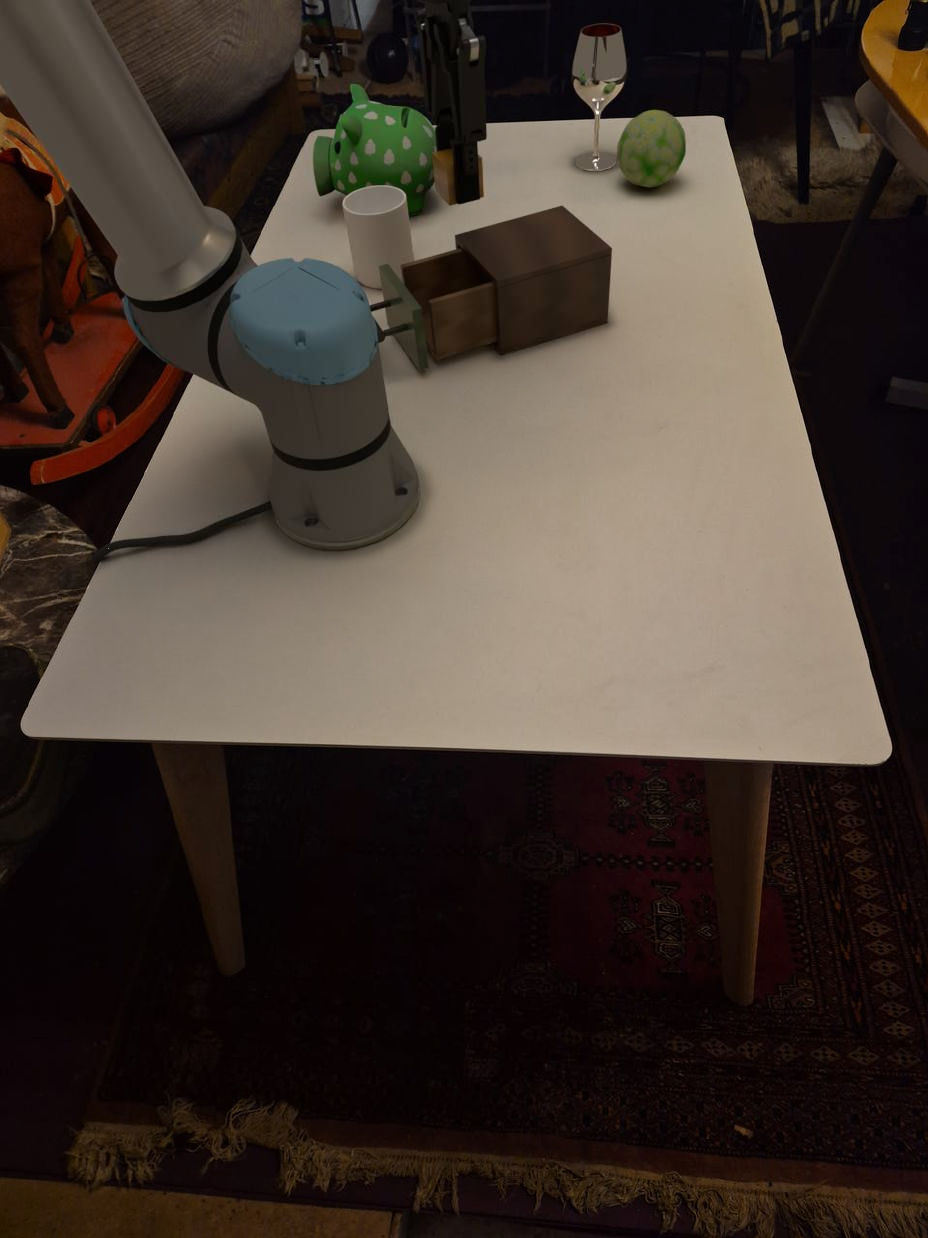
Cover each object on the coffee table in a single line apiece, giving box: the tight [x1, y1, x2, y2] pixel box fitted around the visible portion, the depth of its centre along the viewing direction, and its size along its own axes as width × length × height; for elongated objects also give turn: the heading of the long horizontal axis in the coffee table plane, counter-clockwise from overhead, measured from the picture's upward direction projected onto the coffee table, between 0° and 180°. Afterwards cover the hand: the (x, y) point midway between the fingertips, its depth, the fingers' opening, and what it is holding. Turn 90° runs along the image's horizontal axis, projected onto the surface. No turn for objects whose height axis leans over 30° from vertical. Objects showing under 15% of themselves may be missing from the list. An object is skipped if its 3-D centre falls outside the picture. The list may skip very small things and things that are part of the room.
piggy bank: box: [312, 83, 437, 217], centre depth 126 cm, size 14×18×15 cm
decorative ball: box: [616, 109, 687, 189], centre depth 126 cm, size 10×10×10 cm
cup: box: [341, 185, 415, 290], centre depth 115 cm, size 8×12×10 cm
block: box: [432, 148, 485, 206], centre depth 100 cm, size 4×4×4 cm
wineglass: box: [570, 23, 628, 172], centre depth 129 cm, size 8×8×18 cm
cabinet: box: [454, 205, 613, 356], centre depth 105 cm, size 15×13×10 cm
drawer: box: [369, 248, 498, 372], centre depth 102 cm, size 18×11×8 cm, turn 113°
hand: (459, 191), depth 101 cm, fingers closed on block, 4 cm apart
